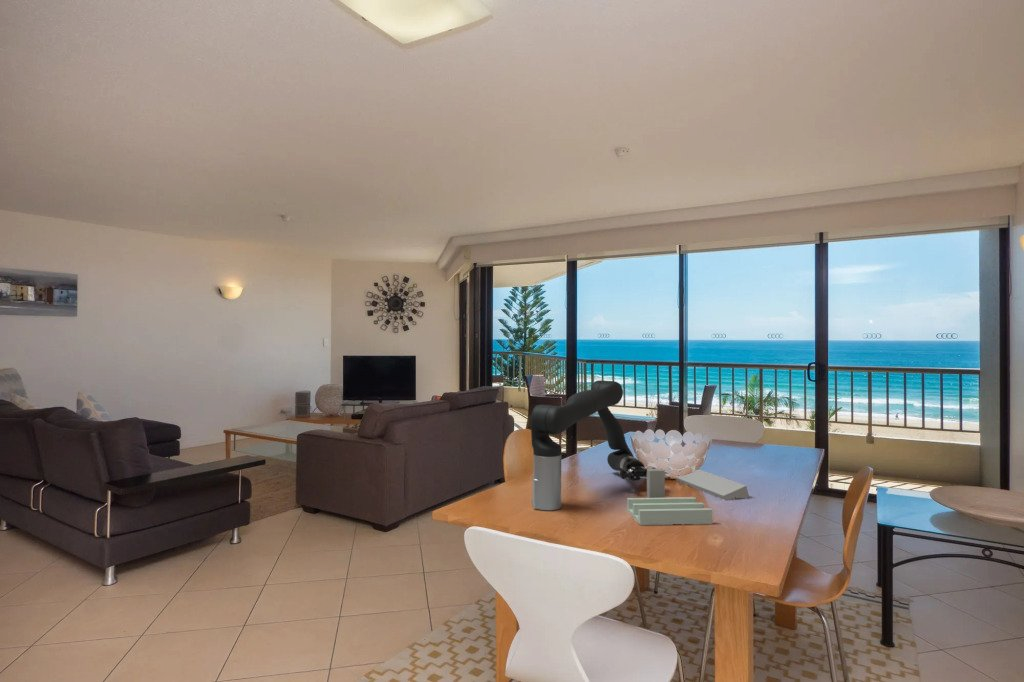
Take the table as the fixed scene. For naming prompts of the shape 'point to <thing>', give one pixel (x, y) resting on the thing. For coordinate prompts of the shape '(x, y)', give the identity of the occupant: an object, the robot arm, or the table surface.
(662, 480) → the grey rectangular block
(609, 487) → the table surface
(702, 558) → the table surface
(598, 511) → the table surface
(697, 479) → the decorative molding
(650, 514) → the pale green ridged block
